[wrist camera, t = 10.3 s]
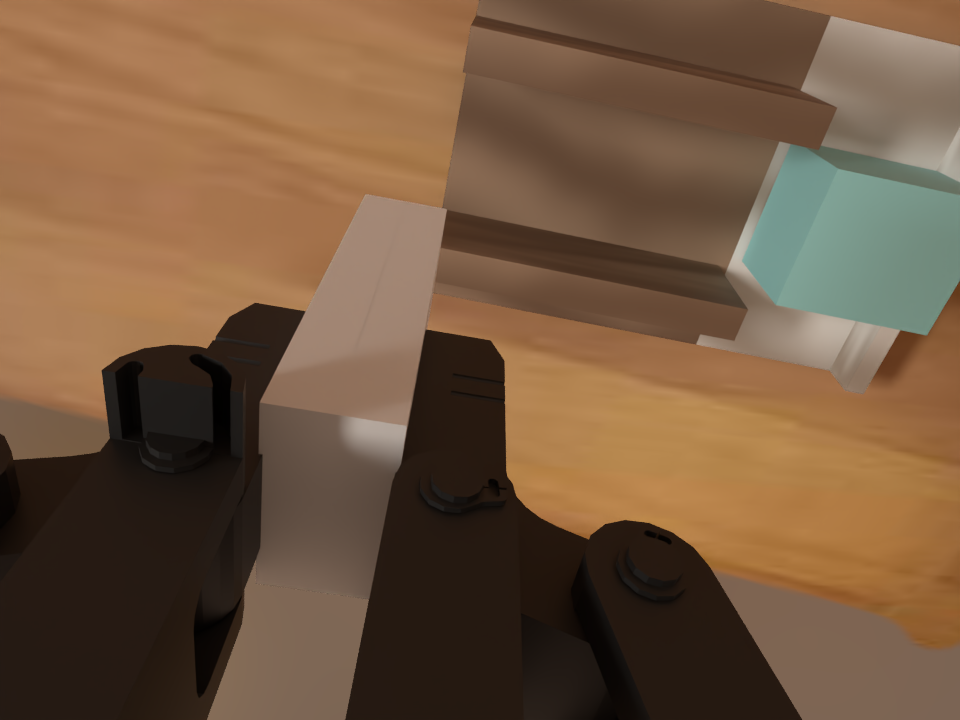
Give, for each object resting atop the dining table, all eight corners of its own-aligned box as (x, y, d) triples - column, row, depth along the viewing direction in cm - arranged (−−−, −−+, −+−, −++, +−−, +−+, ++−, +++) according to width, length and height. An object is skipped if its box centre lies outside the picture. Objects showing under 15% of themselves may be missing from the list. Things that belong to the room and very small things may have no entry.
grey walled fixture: (490, -63, 29) (487, -67, 24) (1005, 57, 30) (1107, 78, 25) (429, 283, 37) (416, 337, 32) (839, 364, 38) (891, 428, 33)
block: (792, 139, 31) (838, 168, 27) (937, 171, 32) (1005, 205, 28) (741, 261, 34) (775, 305, 30) (874, 288, 35) (926, 335, 31)
